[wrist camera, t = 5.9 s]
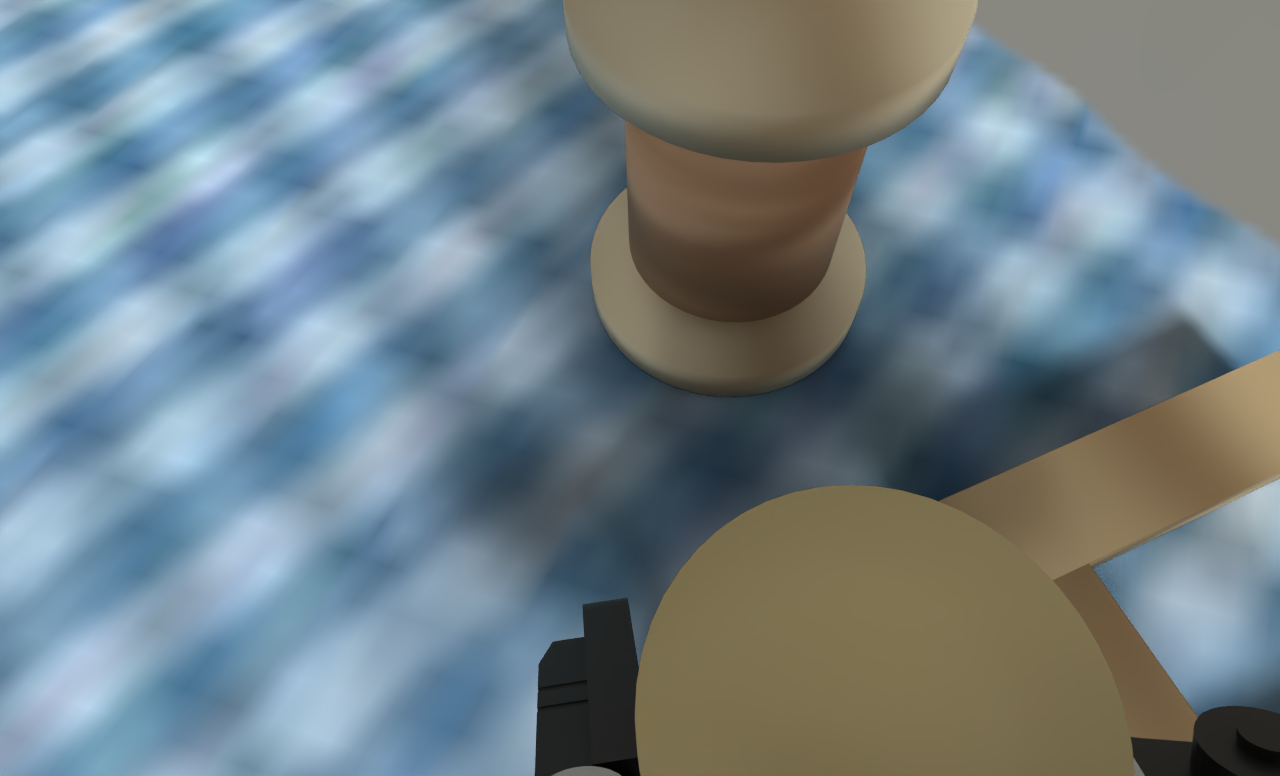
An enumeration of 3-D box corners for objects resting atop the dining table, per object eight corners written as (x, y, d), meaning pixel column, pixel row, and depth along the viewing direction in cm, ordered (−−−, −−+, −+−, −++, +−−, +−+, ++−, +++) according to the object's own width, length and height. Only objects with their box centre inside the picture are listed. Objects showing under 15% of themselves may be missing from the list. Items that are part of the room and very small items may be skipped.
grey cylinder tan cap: (692, 938, 15) (777, 1137, 5) (612, 730, 17) (563, 587, 7) (874, 843, 16) (1249, 860, 6) (779, 653, 17) (948, 423, 8)
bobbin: (657, 437, 20) (663, 171, 12) (554, 227, 23) (504, -97, 15) (908, 338, 21) (1067, 35, 13) (779, 151, 24) (844, -185, 16)
